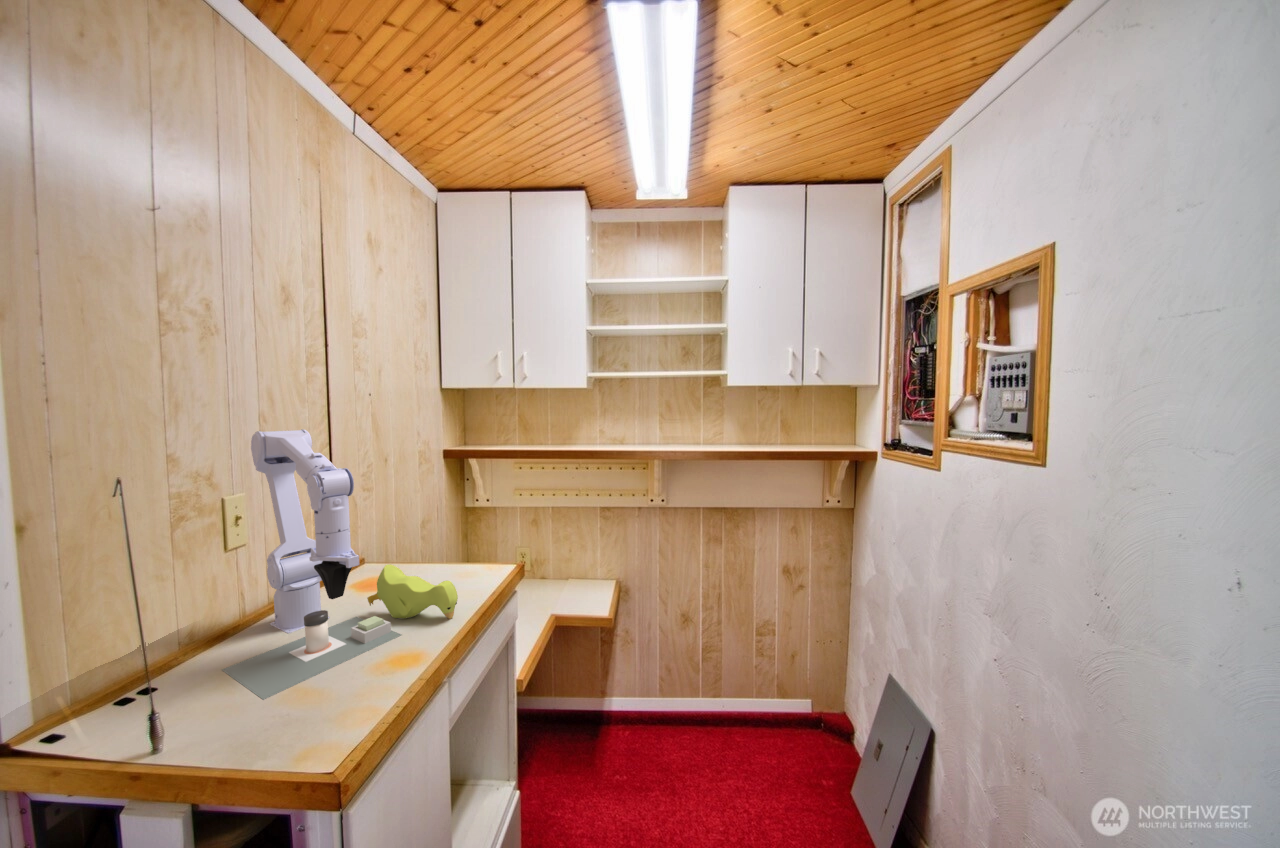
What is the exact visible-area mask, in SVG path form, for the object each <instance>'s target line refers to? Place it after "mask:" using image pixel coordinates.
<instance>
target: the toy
mask: <svg viewBox="0 0 1280 848" xmlns="http://www.w3.org/2000/svg"><path fill="white" fill-rule="evenodd" d="M376 588H377V591H376V593H375V594H373V595H369V596H368V597H367V602H368V604H369V606H370V607H372V605H374V601H377V600H379V602H381V601H382V602H383V604H384V606H385V608H386V609H387V611H388V612H389V614H390V615H391V617H392V618H393V619H397V618H403V619H409V618H412V617H413V618H414V617H416V616H417V615H419V614H420V613H421V612H423V611H425V610H426V609H427V608H428V607H431V606H435V607H437V608H439V610H440V611H441V612H442V614H443V615H444V616H445V618H447V619H449V620H450V619H451V620H452V619H453V618H454V615H455V607H456V605H457V604H458V603H457V602H458V597H459V596H458V592H457V588H456V586H455V585H454V583H453V582H452V581H451V580H443V581H441V582H440V583H438V584H436V585H435V584H432V583H430V582H428V581H426V580H425V579H423V578H422V577H420V576H416V575H406V574H405V573H404V571H402V569H400V568H399V567H398V566H396V565H394V564H386V565H385V566H384V567H382V570H381V572H380V573H379V576H378V578H377V580H376Z"/></svg>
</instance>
